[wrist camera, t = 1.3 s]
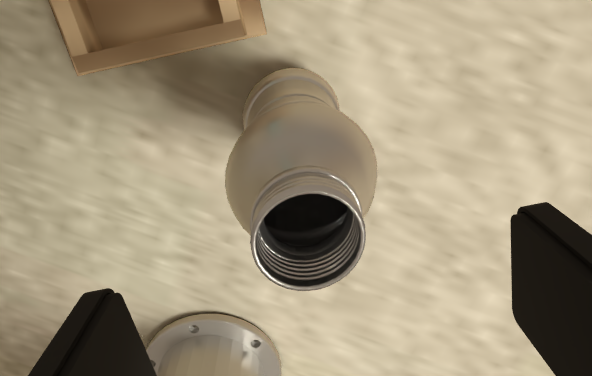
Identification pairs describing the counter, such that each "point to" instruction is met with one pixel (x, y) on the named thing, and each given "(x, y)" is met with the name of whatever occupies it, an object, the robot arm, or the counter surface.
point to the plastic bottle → (301, 181)
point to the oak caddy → (150, 28)
